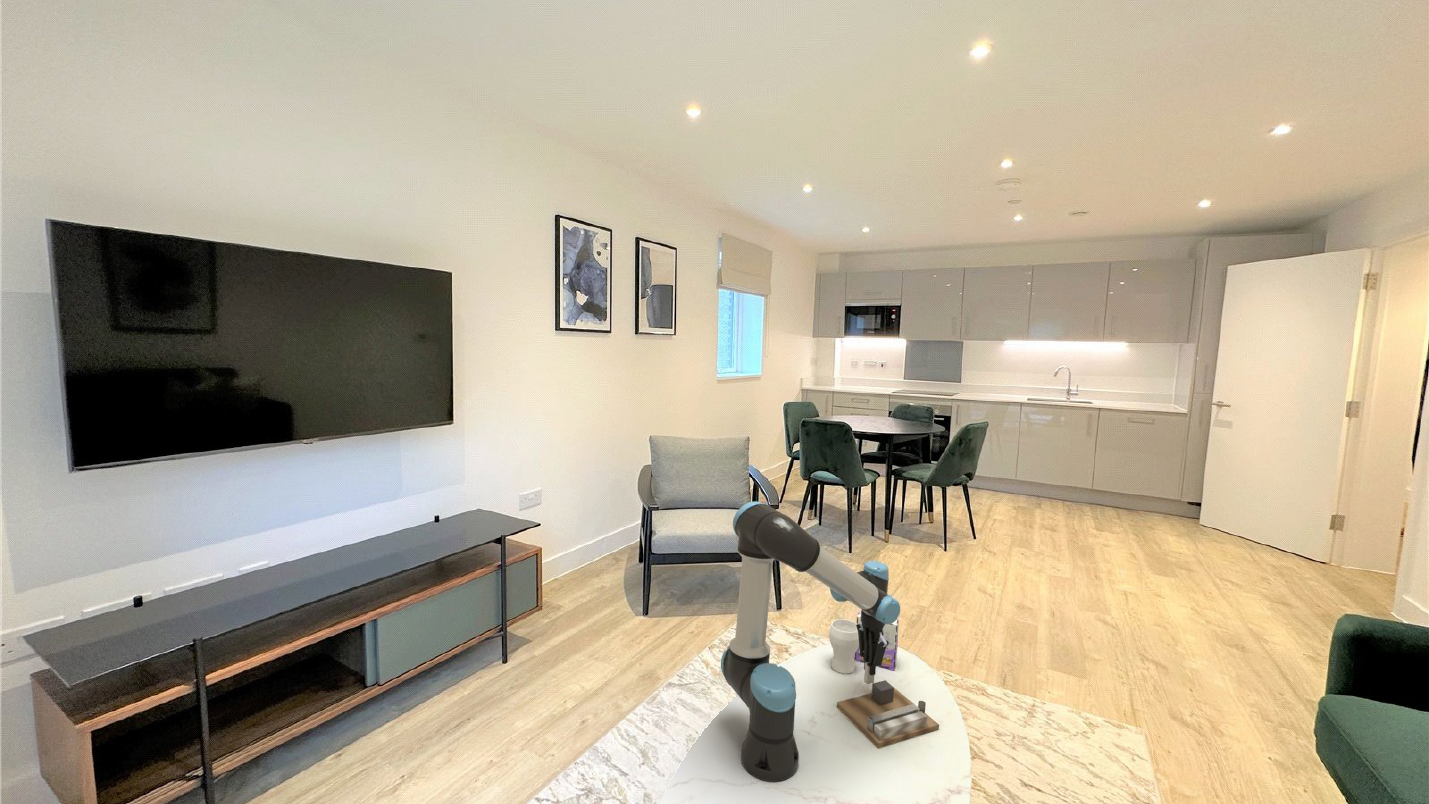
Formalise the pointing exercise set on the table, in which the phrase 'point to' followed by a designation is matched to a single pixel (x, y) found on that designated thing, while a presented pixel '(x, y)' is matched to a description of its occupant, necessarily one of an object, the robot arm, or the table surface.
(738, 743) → the table surface
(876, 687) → the dark grey block
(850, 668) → the cup
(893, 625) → the candy box
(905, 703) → the board
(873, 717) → the bar
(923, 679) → the table surface
